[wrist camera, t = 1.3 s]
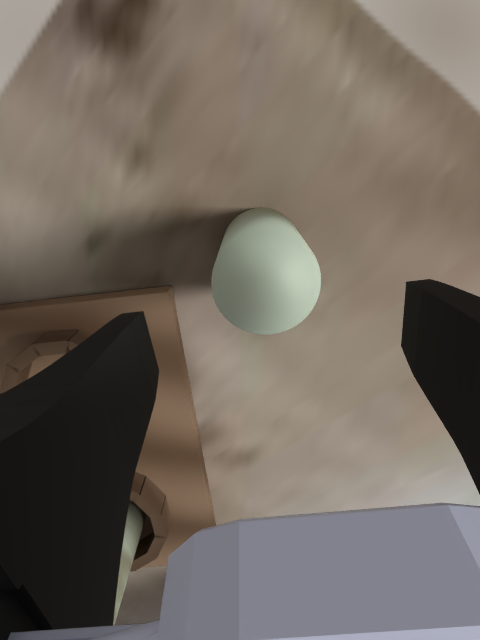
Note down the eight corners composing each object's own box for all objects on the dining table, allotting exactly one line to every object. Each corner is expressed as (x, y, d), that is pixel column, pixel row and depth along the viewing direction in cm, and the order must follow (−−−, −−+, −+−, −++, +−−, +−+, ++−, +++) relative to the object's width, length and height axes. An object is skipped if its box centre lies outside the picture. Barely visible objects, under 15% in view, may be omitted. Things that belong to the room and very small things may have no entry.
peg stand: (219, 546, 29) (209, 682, 22) (53, 558, 30) (-14, 694, 22) (171, 285, 23) (131, 349, 15) (-41, 309, 23) (-181, 381, 16)
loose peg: (302, 279, 22) (323, 328, 16) (227, 288, 23) (219, 339, 16) (296, 203, 21) (317, 222, 14) (217, 212, 21) (203, 235, 15)
